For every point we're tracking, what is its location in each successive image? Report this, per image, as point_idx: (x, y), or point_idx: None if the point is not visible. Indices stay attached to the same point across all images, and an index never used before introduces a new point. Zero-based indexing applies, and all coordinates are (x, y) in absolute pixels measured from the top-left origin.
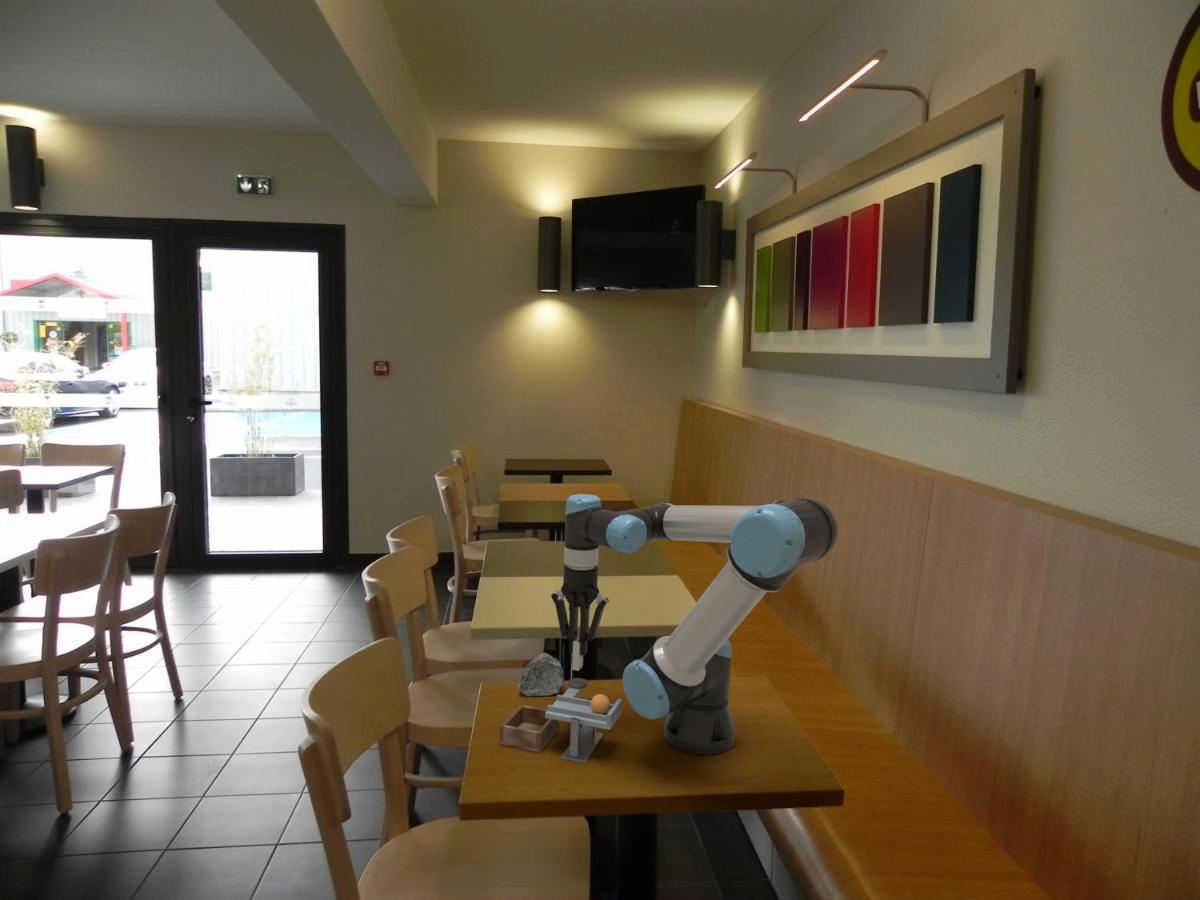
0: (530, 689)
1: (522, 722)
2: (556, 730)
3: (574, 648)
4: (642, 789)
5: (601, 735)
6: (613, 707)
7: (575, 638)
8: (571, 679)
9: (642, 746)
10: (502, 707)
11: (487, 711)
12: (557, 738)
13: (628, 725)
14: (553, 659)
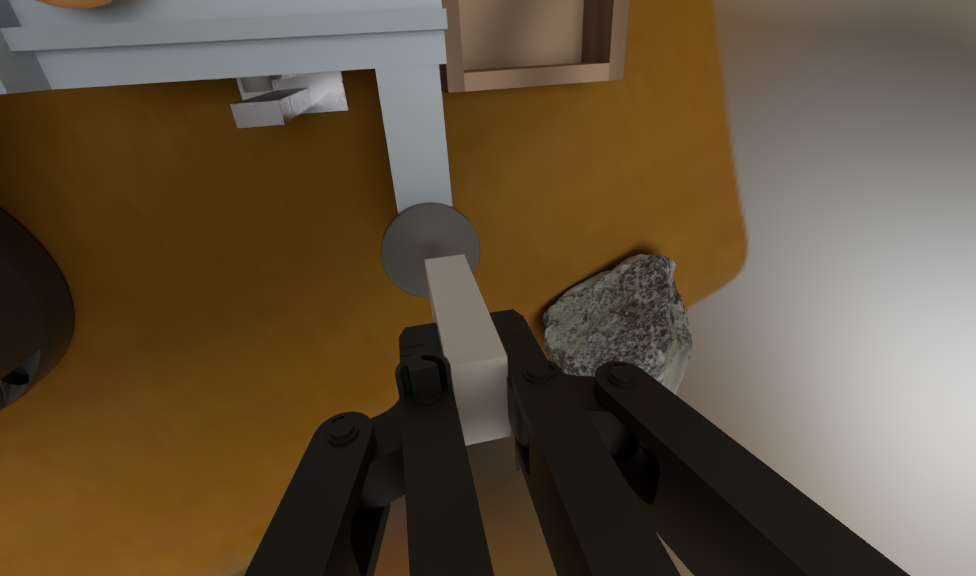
0: (631, 268)
1: (580, 58)
2: None
3: (480, 325)
4: None
5: (243, 96)
6: None
7: (509, 404)
8: (473, 264)
9: (42, 107)
10: (679, 150)
11: (719, 98)
12: None
13: (218, 243)
14: None
